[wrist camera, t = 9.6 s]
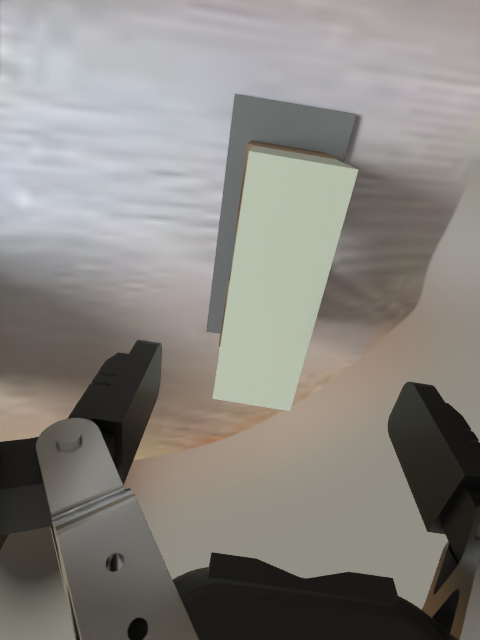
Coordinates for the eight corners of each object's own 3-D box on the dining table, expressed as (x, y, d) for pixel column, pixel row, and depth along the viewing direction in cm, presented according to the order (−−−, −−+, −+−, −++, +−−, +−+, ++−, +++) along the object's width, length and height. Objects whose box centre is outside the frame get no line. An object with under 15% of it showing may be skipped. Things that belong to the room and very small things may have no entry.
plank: (253, 145, 20) (248, 150, 15) (335, 159, 20) (358, 169, 15) (222, 347, 26) (212, 398, 21) (285, 357, 26) (290, 411, 21)
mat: (235, 94, 24) (234, 94, 24) (354, 114, 24) (356, 114, 24) (207, 329, 32) (206, 331, 32) (295, 343, 33) (295, 345, 32)
